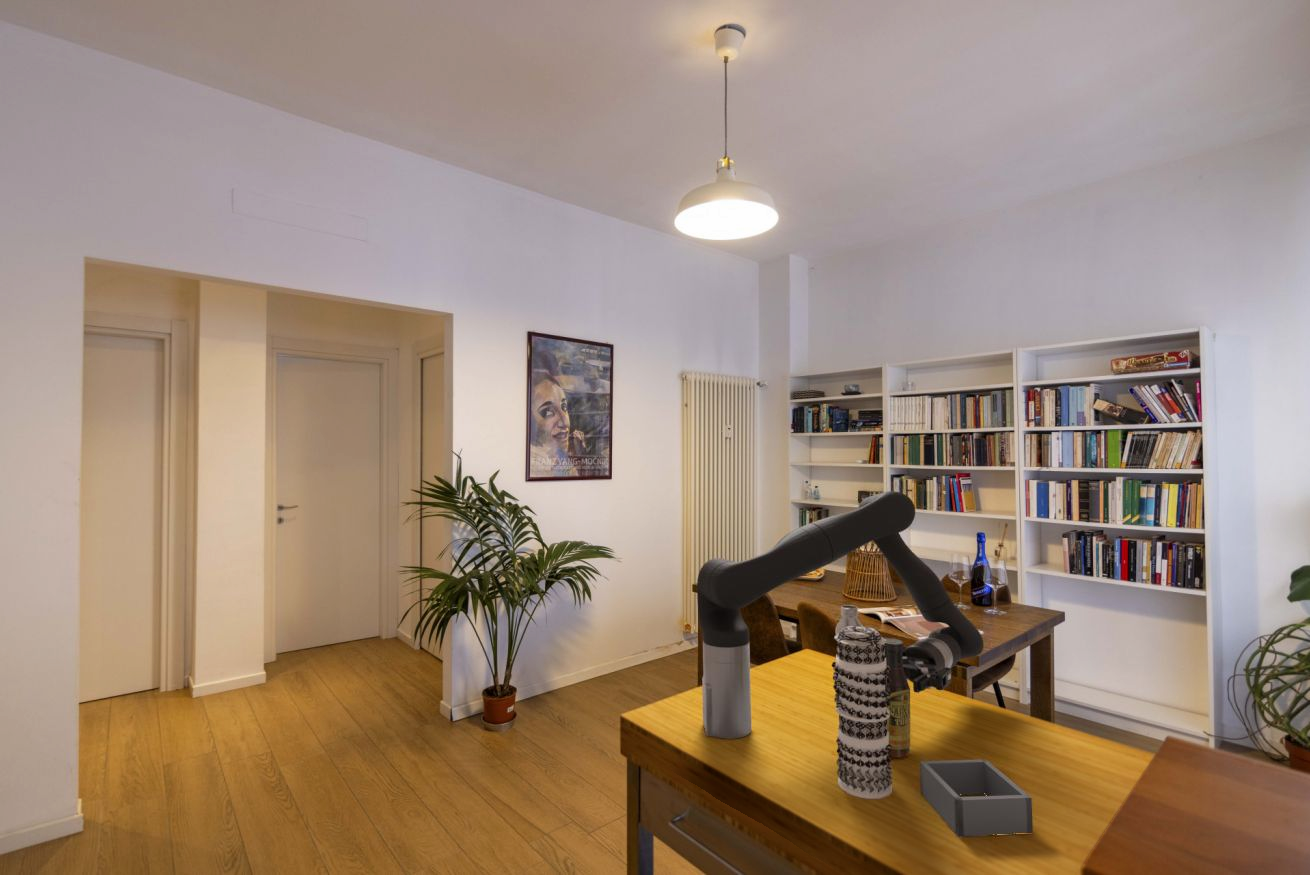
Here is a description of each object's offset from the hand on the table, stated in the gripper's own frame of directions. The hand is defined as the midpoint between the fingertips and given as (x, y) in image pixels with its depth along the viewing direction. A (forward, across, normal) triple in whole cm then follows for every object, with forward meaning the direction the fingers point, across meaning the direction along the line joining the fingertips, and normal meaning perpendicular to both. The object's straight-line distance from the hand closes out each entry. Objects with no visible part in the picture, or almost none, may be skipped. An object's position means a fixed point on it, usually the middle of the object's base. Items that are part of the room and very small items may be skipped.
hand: (891, 681), depth 115 cm
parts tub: (+12, +17, +12) cm, 24 cm away
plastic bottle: (-20, -18, +13) cm, 30 cm away
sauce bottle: (0, 0, +13) cm, 13 cm away
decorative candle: (+15, +2, +13) cm, 20 cm away
